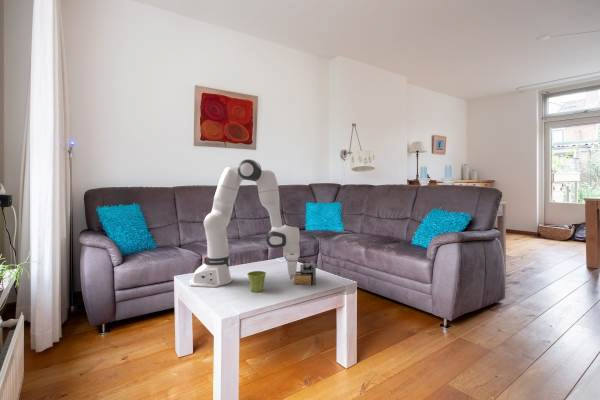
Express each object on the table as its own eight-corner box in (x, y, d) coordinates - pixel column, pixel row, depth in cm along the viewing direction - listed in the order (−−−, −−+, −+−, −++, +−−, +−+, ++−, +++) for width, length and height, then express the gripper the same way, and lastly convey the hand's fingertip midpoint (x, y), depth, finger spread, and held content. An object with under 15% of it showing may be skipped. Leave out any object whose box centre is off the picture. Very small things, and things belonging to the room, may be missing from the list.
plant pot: (248, 287, 167) (248, 271, 167) (266, 286, 168) (266, 270, 168) (247, 293, 158) (246, 276, 157) (266, 293, 159) (266, 275, 158)
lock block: (294, 285, 172) (294, 275, 171) (293, 280, 180) (293, 270, 179) (311, 284, 172) (311, 274, 172) (309, 280, 180) (309, 270, 180)
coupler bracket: (301, 285, 170) (301, 267, 169) (300, 278, 182) (300, 261, 182) (315, 285, 171) (315, 266, 170) (313, 278, 183) (313, 260, 182)
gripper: (285, 249, 184) (285, 273, 185) (286, 258, 164) (286, 285, 165) (296, 249, 185) (296, 273, 186) (298, 258, 164) (298, 284, 165)
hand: (291, 278), depth 175 cm, fingers closed
